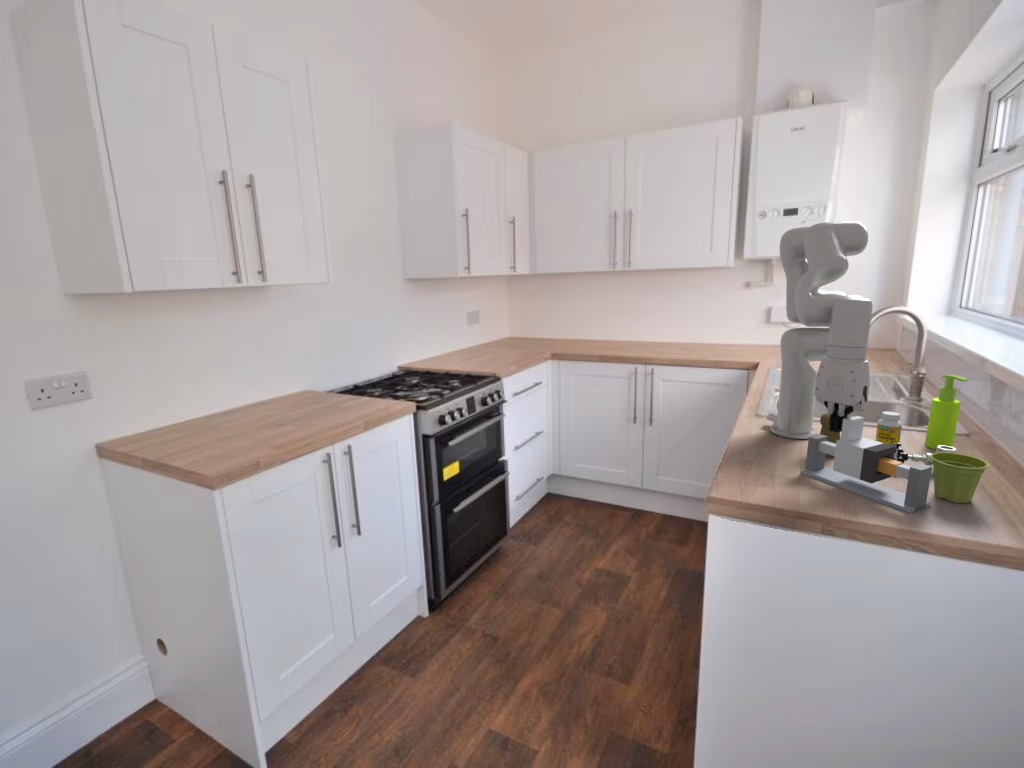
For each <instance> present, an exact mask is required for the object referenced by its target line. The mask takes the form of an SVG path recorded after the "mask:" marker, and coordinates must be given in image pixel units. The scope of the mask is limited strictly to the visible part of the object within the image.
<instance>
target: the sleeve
mask: <svg viewBox="0 0 1024 768" xmlns="http://www.w3.org/2000/svg"><path fill="white" fill-rule="evenodd" d="M864 422H865V417H863V416H859V415H854V416H850V417H847V418H845V419H843V424H842V432H840V440H837V441H836V449H835V457H834V458H833V467H832V469H833V471H836V472H839V473H842V474H845V475H848V476H851V477H854V478H856V479H859V480H860V473H861V466H862V458H863V451H864V448H868V447H871V446H875V445H879V444H883V443H882V442H878V441H875V440H874V439H870V438H866V437H863V429H864Z"/></svg>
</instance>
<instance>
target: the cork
mask: <svg viewBox="0 0 1024 768" xmlns="http://www.w3.org/2000/svg"><path fill="white" fill-rule="evenodd" d="M829 421H830V414H829V413H824V414H822V415H821V416H820V419H819V422H820V425H821V428H820V431H819V434H821V435H824V436H828V438H827V441H828V442H831V443H835V444H836V441H837V440H841V432H838V433H836V432H834V431H830V430H829V428H830V426H829ZM834 457H835V456H833V455H830V454H826V455H825V459H834Z"/></svg>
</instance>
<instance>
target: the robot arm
mask: <svg viewBox="0 0 1024 768" xmlns="http://www.w3.org/2000/svg"><path fill="white" fill-rule="evenodd" d="M779 242H780V243H779V258H780V263H781V265H782V268H783V271H784V274H785V280H786V287H785V288H786V293H785V294H786V296H785V297H786V302H785V304H786V305H785V306H786V309H785V310H786V317H787V319H788V321H789V322H790V323H794V324H799V325H803V326H805V327H793V328H791V329H790V328H789V329H787V330H786V331H784V332H783V334H782V335H781V337H780V344H779V345H780V354H781V355H780V356H781V364H780V365H781V367H780V369H781V370H780V382H779V383H780V384H779V391H778V392H779V393H778V401H777V403H778V405H777V413H773V412H769V413H768V415H767V416H766V420H767V421H771V422H772V424H771V425H770V427H769V431H770V432H771V433H772V434H774V435H777V436H779V437H784V438H789V439H794V440H795V439H796V440H809V437H810V436H814V435H818V434H819V430H817V429H816V428H814V427H813V424H814V417H815V416H814V415H815V405H816V402H818V403H820V404H822V405H824V407H826V410H827V414H830V421H829V426H830V428H829V430H830V431H834V432H836V433H838V432H840V433H841V432H842V424H843V419H845V418H848V416H850V415H851V414H852V413H853V412H864V411H866V409H867V408H866V403H867V402H868V400H869V395H870V379H871V378H870V377H871V376H870V374H871V373H870V364H869V361H868V360H867V352H868V342H869V335H870V328H871V320H872V313H873V301H872V300H871V299H869V298H868V297H867V298H866V297H863V296H861V295H858V294H847V293H846V292H844V291H841V290H822V289H821V287H823V286H826V285H828V284H830V283H831V284H832V283H834V282H836V281H838V280H839V279H841V278H843V277H844V276H845V275H846V273H847V271H848V270H849V260H848V257H853V256H857V255H859V254H862V253H863V252H864V251H865V250H866V247H867V245H868V242H869V232H868V229H867V227H866V226H865V225H864V224H863V223H862V222H860V221H851V220H850V221H829V222H828V221H827V222H819V223H815V224H813V225H810V226H803V227H796V228H792V229H791V228H790V229H789V230H787V231H785V232H784V233H783V234H782V236H781V237H780V241H779ZM811 362H820V364H819V366H818V369H817V372H816V371H815V369H814V367H812V365H811V364H810V363H811Z"/></svg>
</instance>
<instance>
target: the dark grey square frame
mask: <svg viewBox="0 0 1024 768" xmlns="http://www.w3.org/2000/svg"><path fill="white" fill-rule="evenodd" d="M895 448H896V446H893V445H889V444H885V443H883V444H879V445H875V446H871V447H868V448H864V451H863V458H862V466H861V473H860V480H862V481H865V482H868V483H877V482H880V481H883V480H887V479H891V478H892V476H891V475H888V474H885V473H882V472H879V471H877V469H878V462H879V458H880V457H886V458H889V459H892V460H894V454H895Z"/></svg>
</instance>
